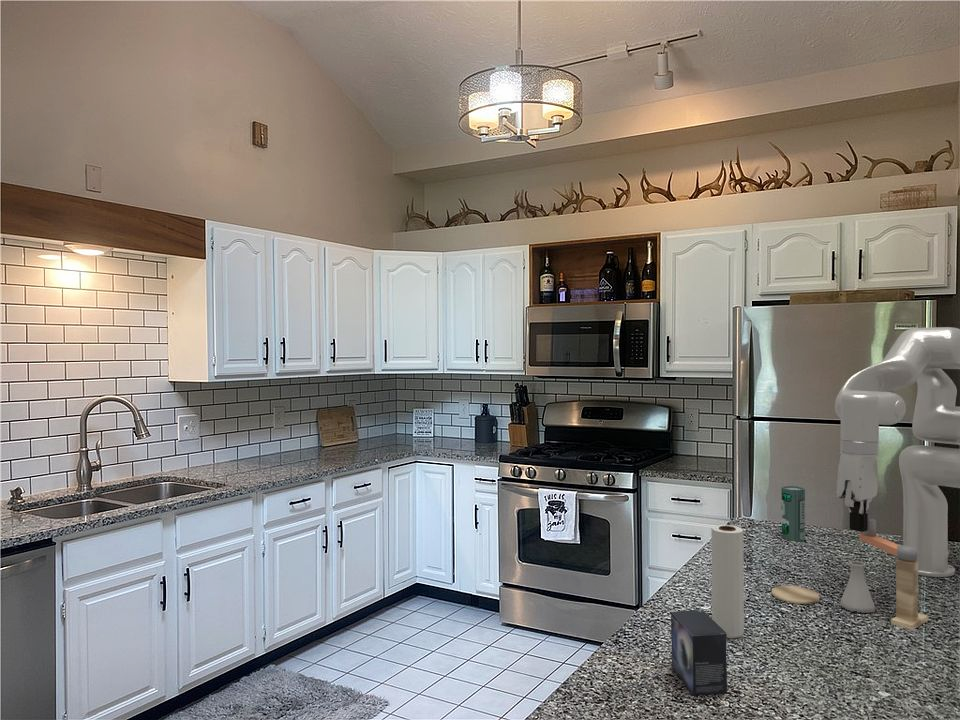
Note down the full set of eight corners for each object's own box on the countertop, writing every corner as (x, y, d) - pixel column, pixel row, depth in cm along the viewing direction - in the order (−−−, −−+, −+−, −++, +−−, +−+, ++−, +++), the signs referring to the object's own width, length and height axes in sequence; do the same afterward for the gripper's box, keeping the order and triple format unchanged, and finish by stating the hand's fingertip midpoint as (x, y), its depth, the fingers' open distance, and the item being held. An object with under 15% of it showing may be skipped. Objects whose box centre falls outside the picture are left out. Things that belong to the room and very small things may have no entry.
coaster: (786, 585, 168) (786, 582, 168) (827, 597, 160) (827, 594, 160) (763, 595, 162) (763, 592, 162) (805, 608, 154) (805, 604, 154)
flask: (881, 615, 149) (881, 568, 149) (844, 613, 151) (844, 567, 151) (869, 602, 157) (869, 558, 156) (834, 600, 158) (834, 557, 158)
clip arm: (872, 539, 160) (872, 517, 159) (921, 560, 144) (921, 536, 144) (857, 539, 159) (857, 517, 159) (904, 561, 144) (904, 537, 143)
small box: (668, 667, 127) (668, 610, 127) (703, 665, 128) (703, 608, 127) (691, 696, 117) (690, 634, 116) (729, 694, 117) (728, 632, 117)
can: (784, 534, 212) (784, 485, 212) (806, 537, 209) (806, 487, 208) (780, 539, 207) (779, 488, 207) (802, 542, 204) (802, 491, 203)
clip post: (907, 614, 149) (907, 554, 149) (928, 620, 146) (928, 558, 146) (890, 624, 145) (890, 561, 144) (912, 630, 141) (912, 566, 141)
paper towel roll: (728, 641, 137) (728, 533, 137) (705, 630, 143) (705, 526, 142) (754, 634, 141) (754, 528, 140) (731, 623, 146) (730, 521, 146)
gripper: (857, 444, 164) (856, 522, 164) (825, 449, 155) (825, 531, 155) (892, 447, 158) (891, 528, 158) (861, 453, 149) (860, 539, 149)
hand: (858, 530), depth 157 cm, fingers closed
